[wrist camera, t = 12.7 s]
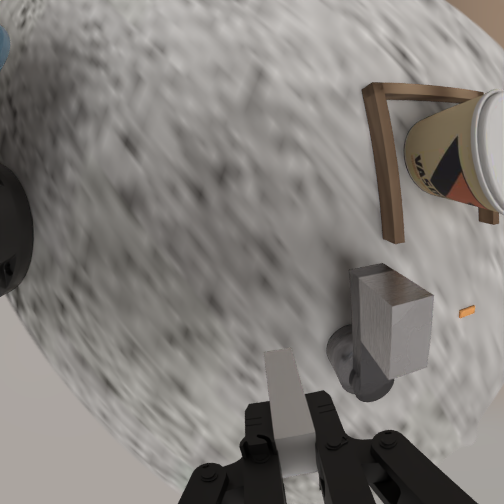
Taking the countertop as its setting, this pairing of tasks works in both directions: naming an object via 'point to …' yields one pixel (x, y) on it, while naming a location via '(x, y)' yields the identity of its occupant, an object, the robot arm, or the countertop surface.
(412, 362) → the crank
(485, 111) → the coffee cup
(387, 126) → the brown u-shaped wooden bracket
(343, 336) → the pedestal
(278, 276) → the countertop surface
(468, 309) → the orange small block
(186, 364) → the countertop surface
